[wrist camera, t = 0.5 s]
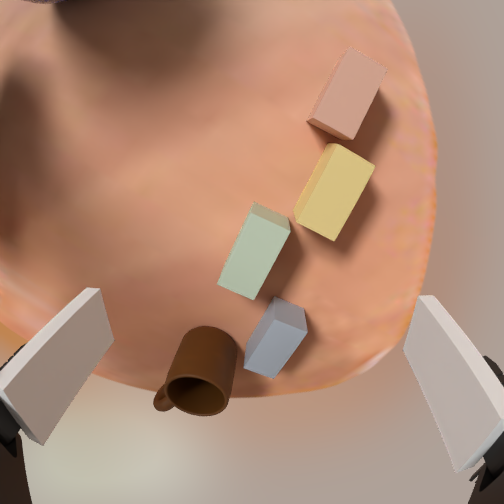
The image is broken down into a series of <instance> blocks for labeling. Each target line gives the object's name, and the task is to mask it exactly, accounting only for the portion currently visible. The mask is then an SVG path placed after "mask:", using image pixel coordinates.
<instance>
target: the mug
mask: <svg viewBox="0 0 504 504" xmlns="http://www.w3.org/2000/svg"><path fill="white" fill-rule="evenodd" d="M236 358H237V349H236V345H235V343H234V341H233V340H232V338H231V337H230V336H229V335H228V334H226V333H225V332H224V331H222V330H220V329H217V328H214V327H208V326H202V327H197V328H194V329H192V330H190V331H189V332H188V333H187V334H186V335H185V336H184V337H183V339H182V341H181V344H180V346H179V348H178V351H177V353H176V355H175V357H174V360H173V362H172V365H171V367H170V369H169V372H168V375H167V378H166V382H165V384H164V385H163V386H162V387H161V388H160V389H159V391H158V392H157V394H156V395H155V398H154V402H153V404H154V407H155V408H156V410H158V411H168V410H170V409H171V408H173V407H174V406H175V407H177V408H178V409H180V410H182V411H184V412H186V413H189V414H192V415H197V416H212V415H216V414H218V413H220V412H222V411H223V410H224V409H225V408H226V407H227V405H228V401H229V398H230V394H231V390H232V384H233V378H234V371H235V364H236Z"/></svg>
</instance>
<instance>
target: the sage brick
mask: <svg viewBox="0 0 504 504" xmlns="http://www.w3.org/2000/svg"><path fill="white" fill-rule="evenodd" d="M290 232H291V230H290V225H289V220H288V217H286V216H284V215H282V214H279V213H277V212H275V211H273V210H271V209H269V208H267V207H264V206H262V205H260V204H258V203H256V202H253V204H252V206H251V208H250V211H249V213H248V215H247V217H246V219H245V221H244V223H243V225H242V228H241V230H240V232H239V234H238V236H237V238H236V241H235V243H234V245H233V247H232V249H231V251H230V253H229V256H228V258H227V260H226V262H225V264H224V267H223V270H222V272H221V275H220V278H219V280H218V283H217V285H219V286H222V287H224V288H226V289H229V290H231V291H233V292H235V293H238V294H240V295H242V296H245V297H247V298H249V299H252V300H254V299H255V297H256V295H257V293H258V292H259V290H260V288H261V286H262V284H263V282H264V280H265V279H266V277H267V275H268V273H269V271H270V269H271V267H272V266H273V264H274V262H275V260H276V258H277V256H278V254H279V252H280V251H281V249H282V247H283V245H284V243H285V241H286V239H287V237H288V235H289V233H290Z"/></svg>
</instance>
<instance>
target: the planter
mask: <svg viewBox="0 0 504 504" xmlns="http://www.w3.org/2000/svg"><path fill="white" fill-rule="evenodd" d="M23 1H28V2H32V3H40V4H52V3H59V2H64V1H68V0H23Z"/></svg>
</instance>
